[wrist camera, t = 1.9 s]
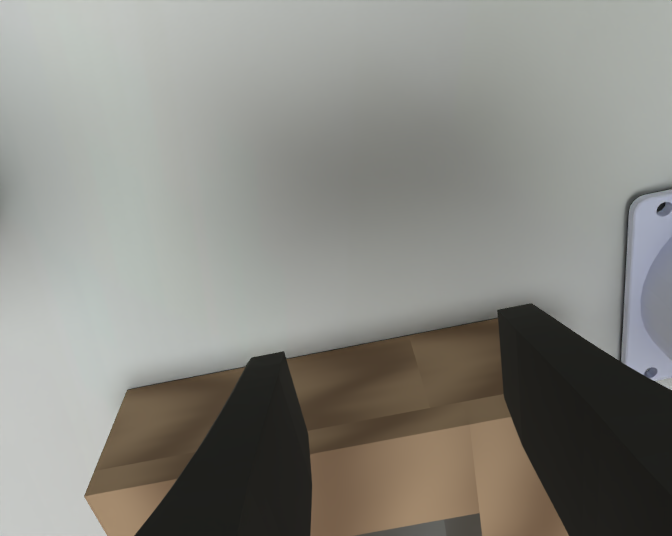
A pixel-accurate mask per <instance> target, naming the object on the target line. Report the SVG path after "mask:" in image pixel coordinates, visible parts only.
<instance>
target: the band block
mask: <svg viewBox="0 0 672 536" xmlns="http://www.w3.org/2000/svg"><path fill="white" fill-rule="evenodd" d="M286 360H287V363H288V367H289V370H290V373H291V377H292V380H293V384H294V387H295V390H296V394H297V397H298V401H299V404H300V407H301V411H302V414H303V417H304V421H305V424H306V428H307V431H308V436H309V448H310V460H311V474H312V508H311V534H310V536H569V535H568V533H567V531H566V529H565V527H564V525H563V523H562V521H561V519H560V517H559V516H558V514H557V512H556V510H555V508H554V506H553V504H552V502H551V500H550V498H549V497H548V495H547V493H546V491H545V489H544V487H543V485H542V483H541V481H540V479H539V477H538V476H537V474H536V472H535V470H534V468H533V466H532V464H531V462H530V460H529V458H528V456H527V454H526V452H525V450H524V448H523V446H522V444H521V441H520V439H519V436H518V434H517V431H516V429H515V426H514V423H513V421H512V418H511V415H510V412H509V410H508V407H507V404H506V402H505V399H504V393H503V380H502V366H501V352H500V338H499V325H498V318H496V319H491V320H486V321H481V322H476V323H471V324H465V325H460V326H455V327H450V328H445V329H440V330H434V331H429V332H424V333H419V334H414V335H409V336H403V337H398V338H393V339H388V340H383V341H378V342H372V343H367V344H362V345H357V346H352V347H347V348H341V349H336V350H331V351H326V352H321V353H316V354H310V355H305V356H300V357H295V358H290V359H286ZM244 369H245V367H243V368H238V369H233V370H228V371H223V372H217V373H212V374H207V375H202V376H197V377H192V378H186V379H181V380H176V381H171V382H166V383H161V384H155V385H150V386H145V387H140V388H135V389H130V390H127V392H126V394H125V397H124V399H123V402H122V404H121V407H120V409H119V411H118V414H117V416H116V419H115V421H114V424H113V426H112V429H111V431H110V434H109V436H108V439H107V441H106V444H105V446H104V449H103V451H102V453H101V456H100V458H99V461H98V463H97V466H96V468H95V471H94V473H93V476H92V478H91V481H90V483H89V486H88V488H87V491H86V493H85V495H84V497H85V499H86V500H87V502H88V504H89V505H90V507H91V509H92V510H93V512H94V514H95V516H96V517H97V519H98V521H99V522H100V524H101V526H102V527H103V529H104V531H105V533H106V534H107V536H134V535H135V534H136V533H137V531H138V530H139V529H140V528H141V526H142V525H143V524H144V523H145V522H146V520H147V519H148V518H149V517H150V515H151V514H152V513H153V511H154V510H155V509H156V507H157V506H158V505H159V503H160V502H161V501H162V499H163V498H164V497H165V495H166V494H167V493H168V491H169V490H170V489H171V487H172V486H173V484H174V483H175V481H176V480H177V478H178V477H179V476H180V474H181V473H182V471H183V470H184V468H185V467H186V465H187V464H188V462H189V461H190V459H191V458H192V457H193V455H194V454H195V452H196V451H197V449H198V448H199V446H200V444H201V443H202V441H203V440H204V438H205V436H206V435H207V433H208V431H209V430H210V428H211V426H212V425H213V423H214V421H215V420H216V418H217V417H218V415H219V413H220V412H221V410H222V408H223V406H224V405H225V403H226V401H227V399H228V398H229V396H230V394H231V392H232V391H233V389H234V387H235V385H236V383H237V381H238V380H239V378H240V376H241V374H242V372H243V370H244Z"/></svg>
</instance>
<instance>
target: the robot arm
mask: <svg viewBox="0 0 672 536" xmlns="http://www.w3.org/2000/svg"><path fill="white" fill-rule="evenodd" d="M664 202H666V204H665V207H664V208H663V209H662V210H661V211H659V212H656V210H657V208H658V206H659V205H660V204H661V203H664ZM497 311H498V325H499V338H500V352H501V366H502V380H503V393H504V399H505V402H506V404H507V407H508V410H509V412H510V415H511V418H512V421H513V423H514V426H515V429H516V431H517V434H518V436H519V439H520V441H521V444H522V446H523V448H524V450H525V452H526V454H527V456H528V458H529V460H530V462H531V464H532V466H533V468H534V470H535V472H536V474H537V476H538V477H539V479H540V481H541V483H542V485H543V487H544V489H545V491H546V493H547V495H548V497H549V498H550V500H551V502H552V504H553V506H554V508H555V510H556V512H557V514H558V516H559V517H560V519H561V521H562V523H563V525H564V527H565V529H566V531H567V533H568V535H569V536H672V391H671V390H670V389H668V388H666V387H664V386H662V385H660V384H659V383H657V382H655V381H656V380H661V379H667V378H672V189H670V190H666V191H661V192H656V193H651V194H646V195H643V196H640V197H638V198H637V199H636V200H634V201H633V203H632V204H631V206H630V210H629V222H628V241H627V260H626V279H625V298H624V317H623V336H622V356H621V362H620V361H619V360H617V359H615V358H614V357H612V356H611V355H609V354H607V353H606V352H604V351H603V350H601V349H599V348H598V347H596V346H595V345H593V344H592V343H590V342H589V341H587V340H585V339H584V338H582V337H581V336H579V335H578V334H576V333H575V332H573V331H572V330H570V329H569V328H567V327H566V326H564V325H563V324H561V323H560V322H559V321H557V320H556V319H554V318H553V317H551V316H550V315H548V314H547V313H545V312H544V311H542V310H541V309H539V308H538V307H536V306H535V305H533V304H532V303H531V304H526V305H521V306H515V307H510V308H505V309H500V310H497ZM648 368H650V369H649V370H648V371H646V370H647V369H648ZM311 508H312V474H311V460H310V448H309V436H308V431H307V428H306V424H305V421H304V417H303V414H302V411H301V407H300V404H299V401H298V397H297V394H296V390H295V387H294V384H293V380H292V377H291V373H290V370H289V367H288V363H287V360H286V357H285V353H284V352H278V353H273V354H268V355H263V356H258V357H253V358H251V359H250V361H249V362H248V363H247V365H246V367H245V369H244V370H243V372H242V374H241V376H240V378H239V380H238V381H237V383H236V385H235V387H234V389H233V391H232V392H231V394H230V396H229V398H228V399H227V401H226V403H225V405H224V406H223V408H222V410H221V412H220V413H219V415H218V417H217V418H216V420H215V421H214V423H213V425H212V426H211V428H210V430H209V431H208V433H207V435H206V436H205V438H204V440H203V441H202V443H201V444H200V446H199V448H198V449H197V451H196V452H195V454H194V455H193V457H192V458H191V459H190V461H189V462H188V464H187V465H186V467H185V468H184V470H183V471H182V473H181V474H180V476H179V477H178V478H177V480H176V481H175V483H174V484H173V486H172V487H171V489H170V490H169V491H168V493H167V494H166V495H165V497H164V498H163V499H162V501H161V502H160V503H159V505H158V506H157V507H156V509H155V510H154V511H153V513H152V514H151V515H150V517H149V518H148V519H147V520H146V522H145V523H144V524H143V525H142V526H141V528H140V529H139V530H138V531H137V533H136V534H135V535H134V536H310V534H311Z"/></svg>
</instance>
